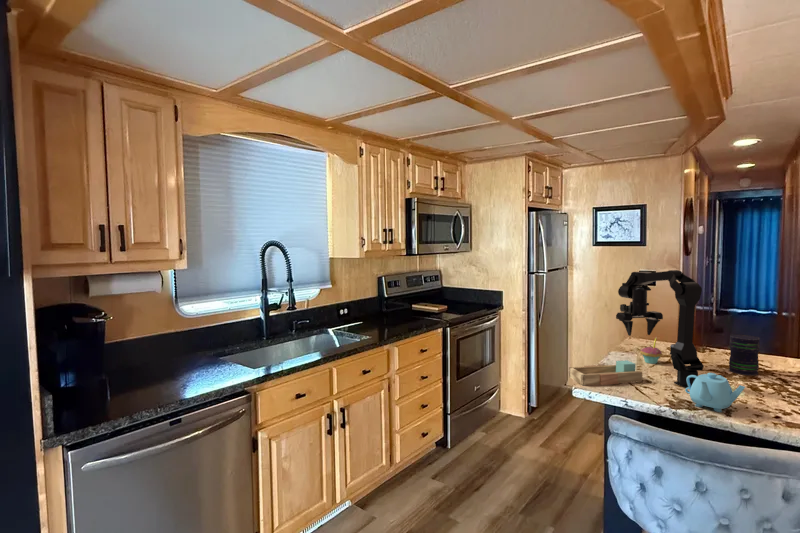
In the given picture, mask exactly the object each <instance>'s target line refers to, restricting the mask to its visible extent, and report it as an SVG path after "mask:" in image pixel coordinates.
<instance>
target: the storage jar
mask: <svg viewBox="0 0 800 533" xmlns="http://www.w3.org/2000/svg"><path fill="white" fill-rule="evenodd" d="M729 338H730V339H729V340H730V341H729V349H730V350H729V351H730V353H729V355H730V356H729V359H728V360H729V361H728V370H729V372H731V373H734V374H738V375H743V376H757V375H759V369H760V368H759V367H760V366H759V364H760V362H759V352H760V347H761V346H760V337H758V336H754V335H750V334H741V333H740V334H738V333H735V334H730V337H729Z"/></svg>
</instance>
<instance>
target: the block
mask: <svg viewBox="0 0 800 533" xmlns="http://www.w3.org/2000/svg"><path fill="white" fill-rule="evenodd" d="M615 365H616V372H631V371H636V363H634V362H632V361H629V360H615Z"/></svg>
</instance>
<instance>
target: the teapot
mask: <svg viewBox="0 0 800 533" xmlns="http://www.w3.org/2000/svg"><path fill="white" fill-rule="evenodd" d="M691 377H694V378H696V379H695V380H694V382H693V384H692V386H691V384H690V381H689V379H690V378H691ZM686 381H687V384H688V387H687V388H685V389H684V391H685V393H687V394H689V397H690V400H691V401H692V402H693V403H694V406H695V407H697V408H703V407H709V408H713V411H714V412H717V413H723V409H727V408H729V407H731V406H732V404H733V402H736V401H737V399H738V397H740V395H741V393H742V392H743V391H744V390H745V388H746V386H744V385H738V387H737V388H735V390H733V389H732V386H731V385H730V383H729V381H728V379H727V378H726V377H724V376H723V375H720V374H719V375H718V373H717V374H716V373H714V372H708V373H703V374H698V376H696V375H690V376H688V377H687V379H686Z"/></svg>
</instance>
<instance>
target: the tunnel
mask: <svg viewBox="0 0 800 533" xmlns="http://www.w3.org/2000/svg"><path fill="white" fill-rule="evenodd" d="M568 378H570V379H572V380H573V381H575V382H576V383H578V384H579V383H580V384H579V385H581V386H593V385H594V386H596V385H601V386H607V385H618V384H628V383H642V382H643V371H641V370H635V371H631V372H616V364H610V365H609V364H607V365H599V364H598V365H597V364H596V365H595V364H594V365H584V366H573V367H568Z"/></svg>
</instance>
